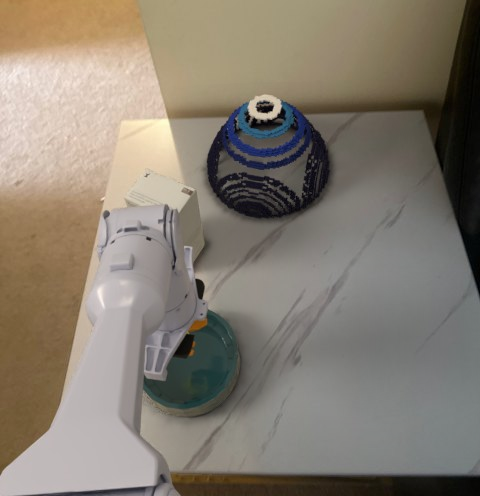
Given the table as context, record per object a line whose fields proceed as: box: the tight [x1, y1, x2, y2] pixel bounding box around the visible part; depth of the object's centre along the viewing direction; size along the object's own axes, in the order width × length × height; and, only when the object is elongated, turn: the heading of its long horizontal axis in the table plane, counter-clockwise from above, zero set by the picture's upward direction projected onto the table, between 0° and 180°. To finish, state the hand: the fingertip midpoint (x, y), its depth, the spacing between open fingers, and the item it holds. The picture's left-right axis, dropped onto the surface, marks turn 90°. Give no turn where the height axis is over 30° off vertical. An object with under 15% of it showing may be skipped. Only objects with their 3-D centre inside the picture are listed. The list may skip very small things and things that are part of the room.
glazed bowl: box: [143, 308, 241, 418], centre depth 73 cm, size 13×13×4 cm
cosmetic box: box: [123, 168, 206, 264], centre depth 80 cm, size 8×6×15 cm
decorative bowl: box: [206, 93, 331, 219], centre depth 88 cm, size 20×20×14 cm
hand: (182, 337), depth 67 cm, fingers closed on toy figure, 3 cm apart
